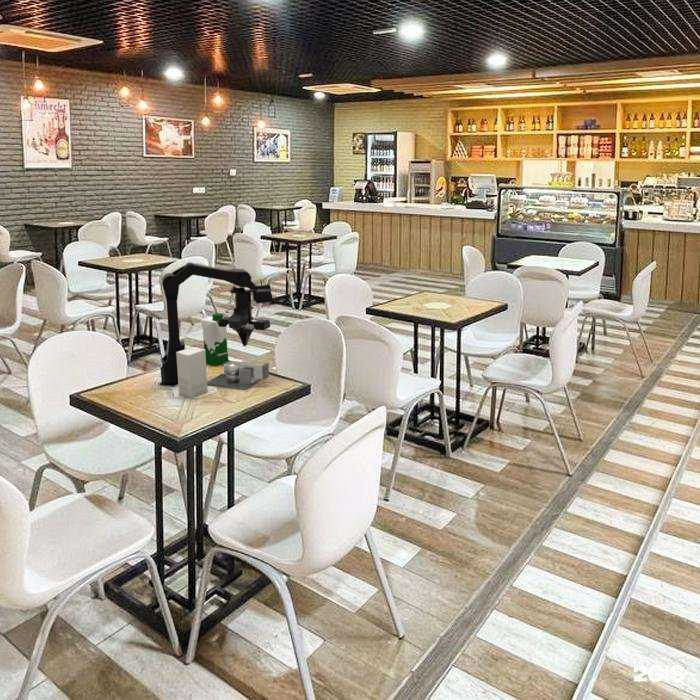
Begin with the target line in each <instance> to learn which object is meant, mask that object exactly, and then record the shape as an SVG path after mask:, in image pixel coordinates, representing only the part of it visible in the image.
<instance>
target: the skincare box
mask: <svg viewBox="0 0 700 700" xmlns="http://www.w3.org/2000/svg"><path fill="white" fill-rule="evenodd" d="M176 356H177V370H178V385H177V386H178V395H180V396H183V397H187V398H191V399H192V398H194V397H196V396H199V395H202V394H204V393H207V392H208V386H207V382H208V373H207V364H206V354H205V349H204V348H201V347H196V346H192V347H188V348H185V350H182V351H178V352H176Z"/></svg>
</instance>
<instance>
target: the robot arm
mask: <svg viewBox="0 0 700 700" xmlns="http://www.w3.org/2000/svg"><path fill="white" fill-rule="evenodd" d="M192 276H196V277H203V278H209V279H214V280H219V281H225V282H227V283H230V284H232V287H231V288H230V289H229V291H228V292H229V293H230V294H234V298H235V299H234V301H235V303H234V304H235V307H234V308H233V312H232V314H231V315H230V316H223V318H220V319H219V321H218V326H219V327H226V326H227V327H229V329H232V330H233V331H235V332H236V333H237V335H238V337H239V338H240V341H241V343H242V346H243V347H247V346H248V343H249V341H250V338H251V335H252V334H253V331H254V330H255V331H256V330H257V331H265V330H267V329H269V328H271V322H270V319H262V318H260V319H257V320H256V321H254V316H252V310H253V309H254V306H253V305H252V302H255V304H257V305H258V304H271V303H272V302H273V294H272V289H271V285H270V284H269V283H266V284H258V285H256V284H255V283H254V282H253V281H252V275H251V274H250V273H249V272H248V271H247V270H246V269H243V268H230V269H229V268H228V269H227V268H219V267H213V266H210V265H209V266H208V265H203V264H198V263H193V262H187V263H186V264H185V265H183V266H181V267H179V268H178V269H176V270H174V271H172V272H167V273H165V274H164V275H163V276H162V278H161V285H162V288H163V293H164V296H165V301H166V313H167V314H166V317H167V332H168V338H167V340H168V341H167V345H166V354H164V355H163V357H162V358H161V359H160V361H161V366H160V367H159V369H160V378H161V381H160V382H159V383H158V385H159V386H167V387H168V386H169V387H176V386H179V385H178V370H177V356H176V352H178V351H182V350H185V349H186V348H185V347H186V345H185V341H184V340H181V339H180V327H179V311H178V297H179V291H180V285H182V284H183V283H184V282H186V281H187V280H188V279H189V278H190V277H192ZM236 286H238V287H236ZM246 288H247V289H246Z"/></svg>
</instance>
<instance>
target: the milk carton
mask: <svg viewBox="0 0 700 700" xmlns="http://www.w3.org/2000/svg"><path fill="white" fill-rule="evenodd" d="M223 317H224V315H223V313H220V312H219V313H218V312H217V313H212V316H209V317H205V318H202V319H200V324H201V328H202V333H203V334H202V335H203V336H202V338H203V349H205V354H206V365H209V366H212V367H213V366H214V367H217V366H218V367H219V366H221V365H224V363H226V362H230V360H229V352H228V332H227V331H228V330H227V327H228V325H227V326H226V327H219V326H218V321H219V319H220V318H223Z"/></svg>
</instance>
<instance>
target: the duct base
mask: <svg viewBox="0 0 700 700" xmlns="http://www.w3.org/2000/svg"><path fill="white" fill-rule="evenodd" d="M259 382H261V379H259V378H251V369H240V373H238V374H226V373H220V374H218V375H217V376H215V377H213V378H212V379H210V380H207V387H215V388H225V389H232V390H241V391H247V390H248V389H250V388H251V387H253V386H254V385H256V384H258V383H259Z"/></svg>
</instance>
